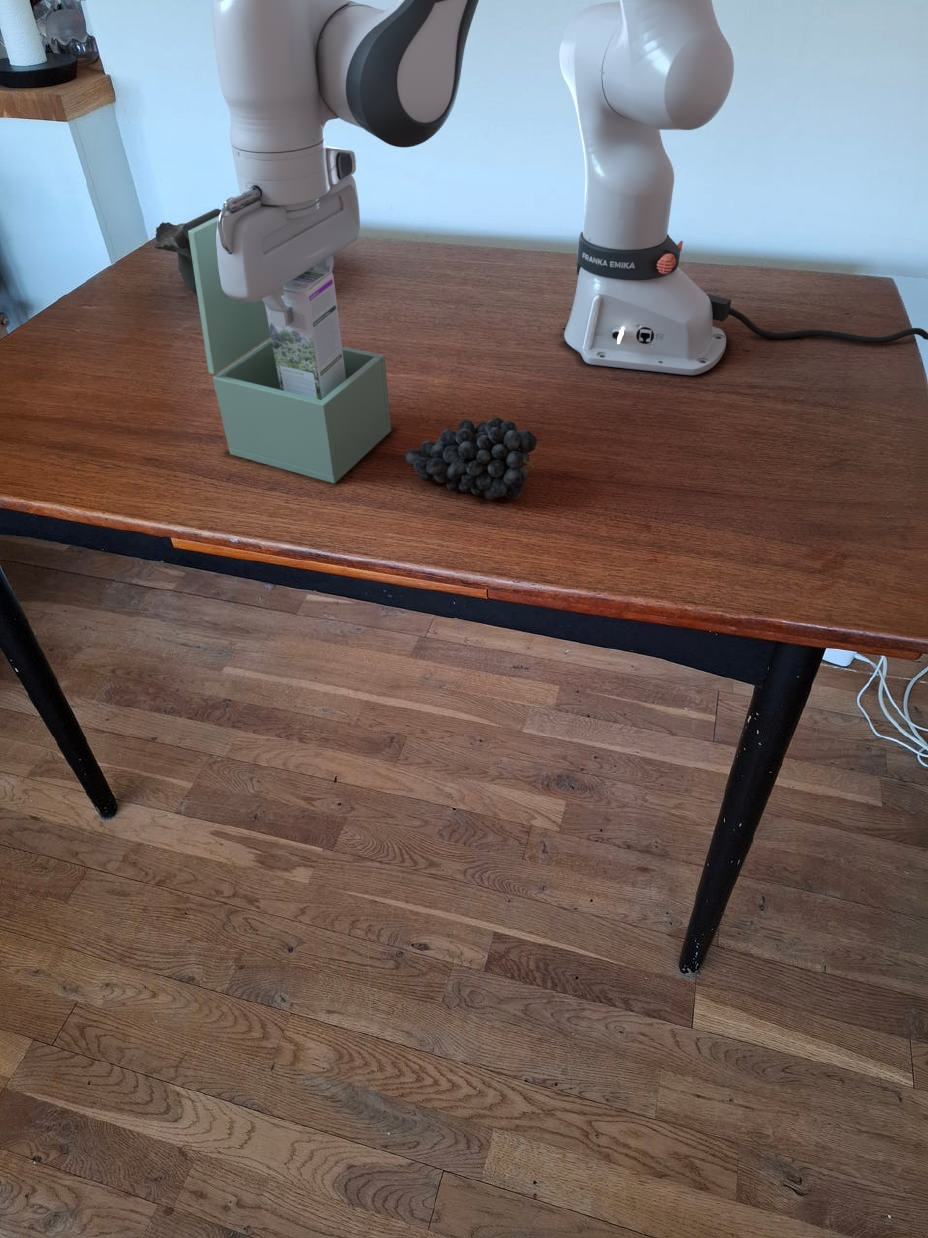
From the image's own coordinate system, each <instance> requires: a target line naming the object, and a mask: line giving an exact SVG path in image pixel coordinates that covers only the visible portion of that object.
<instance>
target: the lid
mask: <svg viewBox="0 0 928 1238" xmlns="http://www.w3.org/2000/svg"><path fill="white" fill-rule="evenodd" d="M221 210H222V209H220V208H214V209H212V210H210V211H208V212H205V213H204V214H202V215H200V216H198V217H195V218H194V219H191V220H190V221H187V222H185V223H184V224H183V225H184V226H183V225H182V226H183V232H184V235H185V236H186V237H187V239H189V241H190V248H191V254H192V261H193V268H194V275H195V282H196V289H197V293H196V296H197V302H198V309H199V315H200V321H201V328H202V336H203V342H204V343H203V344H204V350H205V357H206V364H207V370H208V374H211V375H217V374H218V373H220V372H221V371H223V370H224V369H226V368H227V367H229V366H230V365H232V364H233V362H234V363H235V362H236V361H237V360H239V358H242V357H243V356H245V355H246V354H248V353H249V352H251V351H252V350H254V349H255V348H257V347H258V346H260V345H261V344H263V343H264V342H265V341H267V340H268V339H270V338H271V335H270V329H269V324H268V318H267V313H266V308H265V303H264V302H263V300H262V299H261V300H260V301H258V302H256V303H248V302H242V301H238V300H234V299H231V298H229V297H228V296H227V295H226V294H225V293H224V291H223V290H222V286H221V281H220V274H219V266H218V257H217V245H216V231H217V218H218V217H219V215H220V212H221ZM226 213H227V212H226Z"/></svg>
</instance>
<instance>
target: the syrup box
mask: <svg viewBox="0 0 928 1238" xmlns="http://www.w3.org/2000/svg"><path fill="white" fill-rule="evenodd" d="M283 290H284V295H283V296H281V298H282V300H283V302H284V304H285V305H286V306H289V307H292V312H293V318H294V321H293V322H292V323H291V324H289V325H288V326H286V327H285V328H283V327H278V326H275V325H274V324H273V322H272V317H271V312H270V309H269V308H268V307H267V306H266V304H265V308H266V313H267V318H268V324H269V329H270V335H271V336H270V338H271V340H272V345H273V351H274V357H275V362H276V367H277V373H278V378H279V383H280V389H281V390H283V391H287V392H291V393H295V394H299V395H303V396H307V397H311V398H315V399H319V400H322V399H323V398H324V397H326V396H327V395H328V394H329V393H331V392H332V391H333V390H334V389H335V388H337V387H338V386H339V385H340V384H342V383H343V382H344V381H345V380H346V374H345V367H344V359H343V351H342V346H343V344H342V338H341V337H342V335H341V328H340V327H341V326H340V319H339V312H338V311H339V310H338V303H337V302H338V301H337V292H336V285H335V277H334V273H333V271H332V272H325V271H320V270H314V269H313V268H311V269H309V270H308V271H306V272H305V273H303V274H301V275H300V276H298V277H296V278H295V279H293V280H292V281H290V282H288V283H287V284H285V285H284V286H283Z"/></svg>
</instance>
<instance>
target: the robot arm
mask: <svg viewBox="0 0 928 1238" xmlns="http://www.w3.org/2000/svg"><path fill="white" fill-rule="evenodd" d="M479 1H480V0H398V1H396V3H394V4H393V5H392V6H391V7H389V8H388V9H386V10H385V9H381V8H376V7H374V6H370V5H368V4H363V3H360V2H356V1H352V0H212V6H211V7H212V8H211V9H212V14H211V15H212V18H211V19H212V31H213V43H214V51H215V58H216V66H217V72H218V78H219V84H220V89H221V93H222V96H223V98H224V101H225V102H226V105H227V108H228V111H229V116H230V132H229V133H230V136H229V138H230V140H229V141H230V145H231V146H230V147H231V151H232V152H231V153H232V157H233V162H234V168H235V174H236V179H237V184H238V191H239V193H238V195H235V196H231V197H228V198H226V199H225V201H223V204H222V209H220V210H221V212H220V215H219V217H218V218H217V231H216V245H217V257H218V266H219V274H220V281H221V286H222V290H223V291H224V293H225V294H226V295H227V296H228V297H229V298H231V299H234V300H238V301H242V302H248V303H256V302H258V301H260V300H261V299H262V300H263V302H264V303H265V304H266V306H267V307H268V308H269V309H270V312H271V317H272V322H273V324H274V325H275V326H278V327H283V328H285V327H286V326H288V325H289V324H291V323H292V322H293V321H294V318H293V312H292V307H289V306H286V305H285V304H284V302H283V300H282V298H281V296H283V295H284V290H283V286H284V285H285V284H287V283H288V282H290V281H292V280H293V279H295V278H296V277H298V276H300V275H301V274H303V273H305V272H306V271H308V270H309V269H314V270H320V271H325V272H332V273H333V269H334V266H335V261H334V255H335V254H337V253H338V252H339V251H341V250H343V249H345V248H346V247H348V246H349V245H351V244H353V243H355V242H356V241H357V239H358V236H359V232H360V229H361V214H360V202H359V201H360V200H359V191H358V186H357V182H356V179H355V178H354V174H355V173H356V171H357V157H356V153H355V152H354V151H353V150H350V149H346V148H341V147H334V146H328V145H326V137H325V125H326V123H327V122H328V121H330V120H331V121H332V120H338V119H339V120H342V121H344V122H345V123H348V124H350V125H353V126H356V127H358V128H361V129H363V130H364V131H366V132H367V133H369V134H371V135H373V136H374V137H376V138H377V139H378V140H380V141H382V142H383V143H385V144H387V145H389V146H392V147H395V148H412V147H416V146H419V145H421V144H424V143H426V142H427V141H429V140H430V139H431V138H433V137H434V136H435V135H436V134H437V133H438V132H439V131H440V130H441V129H442V127H443V126H444V125H445V123H446V122H447V120H448V119H449V117H450V115H451V113H452V110H453V108H454V106H455V103H456V99H457V97H458V92H459V88H460V82H461V77H462V76H461V74H462V68H463V60H464V55H465V49H466V44H467V40H468V36H469V33H470V28H471V26H472V22H473V19H474V16H475V13H476V10H477V7H478V4H479ZM558 55H559V56H558V58H559V68H560V71H561V75H562V77H563V79H564V81H565V83H566V85H567V87H568V89H569V91H570V94H571V96H572V99H573V103H574V106H575V111H576V115H577V120H578V125H579V132H580V137H581V143H582V151H583V158H584V170H585V171H584V172H585V182H584V184H585V185H584V187H585V188H584V204H583V222H582V230H581V232H580V233H579V237H578V244H577V250H576V275H577V282H576V289H575V293H574V299H573V304H572V308H571V311H570V314H569V318H568V321H567V324H566V327H565V329H564V332H563V337H564V341H565V342H566V343H567V345H569V347H571V348H572V349H574V350H575V351H576V352H578V353H579V354H580V355H581V357H582V360H583V361H584V362H585V363H586V364H589V365H592V366H601V367H611V368H618V369H619V368H620V369H627V370H628V369H629V370H637V371H646V372H647V371H648V372H656V373H665V374H674V375H683V376H684V375H685V376H697V375H700V374H703V373H705V372H708V371H709V370H710V369H712V368H713V367H715V366H716V365H717V364H718V363H719V361H720V360H721V358H722V357H723V356H724V354H725V350H726V345H727V336H726V333H725V332H724V331H723V330H722V329H721V328H719V327H715V326H713V325H714V323H713V321H717V322H721V323H724V321H725V320H726V319H728V318H729V316H732V317H733V318H735V319H737V320H738V321H739V322H741V323H743V325H745V327H747V329H749V330H750V331H751V332H752V333H753V334H755V335H756V336H759V337H762V338H766V339H770V340H789V339H796V338H805V337H822V338H832V339H838V340H844V341H848V342H849V341H850V342H855V343H861V344H862V343H864V344H886V343H887V344H888V343H890V342H891V343H892V342H894V341H898V340H900V339H903V338H905V337H908V336H911V335H917V336H920V337H921V338H922V339H923V340H926V341H928V332H927V331H926V330H925V329H923V328H920V327H912V328H908V329H904V330H901V331H898V332H896V333H893V334H890V335H885V336H866V335H865V336H864V335H857V334H851V333H845V332H840V331H833V330H825V329H804V330H803V329H802V330H796V331H789V332H772V331H767V330H764V329H762V328H760V327H758V326H757V325H756V324H755V323H754V322H753V321H752V320H751V319H749V318H748V317H747V315H745V314H744V313H742V312H740V311H739V310H736V309H734V308H733V307H731V305H732V299H731V298H726V297H722V296H717V295H713V294H709V293H706V292H704V290H702V289H701V288H700V287H699V286H698V285H697V283H695V282H694V281H693V280H692V279H691V278H690V277H689V276H688V275H687V274H686V273H684V271H683V270H682V269H681V268H680V267H679V263H680V259H681V258H680V256H681V252H682V251H683V243H684V240H680V241H679V242H678V244H677V243H676V242H675V241H674V240H673V239H672V238H671V236H670V235H669V234H668V232H669V225H670V217H671V208H672V200H673V193H674V187H675V171H674V166H673V164H672V161H671V159H670V158H669V156H668V154H667V152H666V150H665V147H664V143H663V140H662V135H661V131H662V130H663V131H694V130H696V129H700V128H702V127H704V126H705V125H706V124H708V123H709V122H710V121H712V120H713V119H714V118H715V117H716V116H717V114H718V113H719V112H720V110H721V109H722V107H723V106H724V104H725V103H726V100H727V98H728V96H729V94H730V92H731V91H730V90H731V88H732V84H733V80H734V74H735V73H734V72H735V62H734V55H733V50H732V48H731V45H730V44H729V42H728V41H727V39H726V37H725V36H724V34H723V31H722V30H721V28H720V26H719V23H718V20H717V17H716V13H715V9H714V5H713V1H712V0H619V1H610V2H603V3H598V4H594V5H590V6H588V7H585V8H583V9H582V10H580V11H579V12H578V13H576V14H575V16H574V17H573V18H571V21H570V22H569V23H568V25H567V27H566V28H565V30H564V32H563V35H562V39H561V42H560V47H559V54H558ZM226 212H227V213H226Z"/></svg>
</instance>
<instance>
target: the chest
mask: <svg viewBox="0 0 928 1238" xmlns="http://www.w3.org/2000/svg"><path fill="white" fill-rule="evenodd" d="M342 351H343V359H344V367H345V374H346V380H345V381H344V382H343V383H342V384H340V385H339V386H338V387H337V388H335V389H334V390H333V391H332V392H331V393H329V394H328V395H327V396H326V397H324V398H323V399H322V400H319V399H315V398H311V397H307V396H303V395H299V394H295V393H291V392H287V391H283V390H281V389H280V383H279V378H278V373H277V367H276V362H275V357H274V351H273V345H272V340H271V337H269V338H268V339H266V340H265V341H263V342H262V343H260V344H259V345H257V346H256V347H254V348H253V349H252V350H250V351H249V352H247V353H246V354H244V355H243V356H241V357H240V359H239V358H238V359H237V360H235V361H234V363H233V362H232V363H231V364H229V365H228V366H227V367H225V368H224V369H222V370H221V371H219V372H218V373H217V374H215V376H213V377H212V381H213V386H214V389H215V395H216V399H217V402H218V408H219V412H220V417H221V420H222V424H223V429H224V433H225V438H226V443H227V446H228V451H229V455H230V456H231V455H232V456H236V457H239V458H242V459H246V460H250V461H253V462H256V463H261V464H264V465H267V466H270V467H274V468H277V469H282V470H285V471H289V472H292V473H295V474H299V475H302V476H306V477H309V478H313V479H317V480H319V481H324V482H327V483H331V484H336V483H337V482H338V481H339V480H340V479H341V478H342V477H344V476H345V475H346V474H347V473H348V472H349V471H350V470H351V469H352V468H353V467H354V466H355V465H356V464H357V463H358V462H360V461H361V460H362V459H363V458H364V457H365V456H366V455H367V454H368V453H369V452H370V451H372V449H373V448H374V447H375V446H377V445H378V444H379V443H380V442H381V441H382V440H383V439H384V438H385V437H386V436H387V435H389V433H391V432H392V425H391V413H390V401H389V389H388V378H387V377H388V376H387V366H386V355H385V354H382V353H381V354H380V353H375V352H371V351H368V350H362V349H358V348H354V347H349V346H344V345H342Z"/></svg>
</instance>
